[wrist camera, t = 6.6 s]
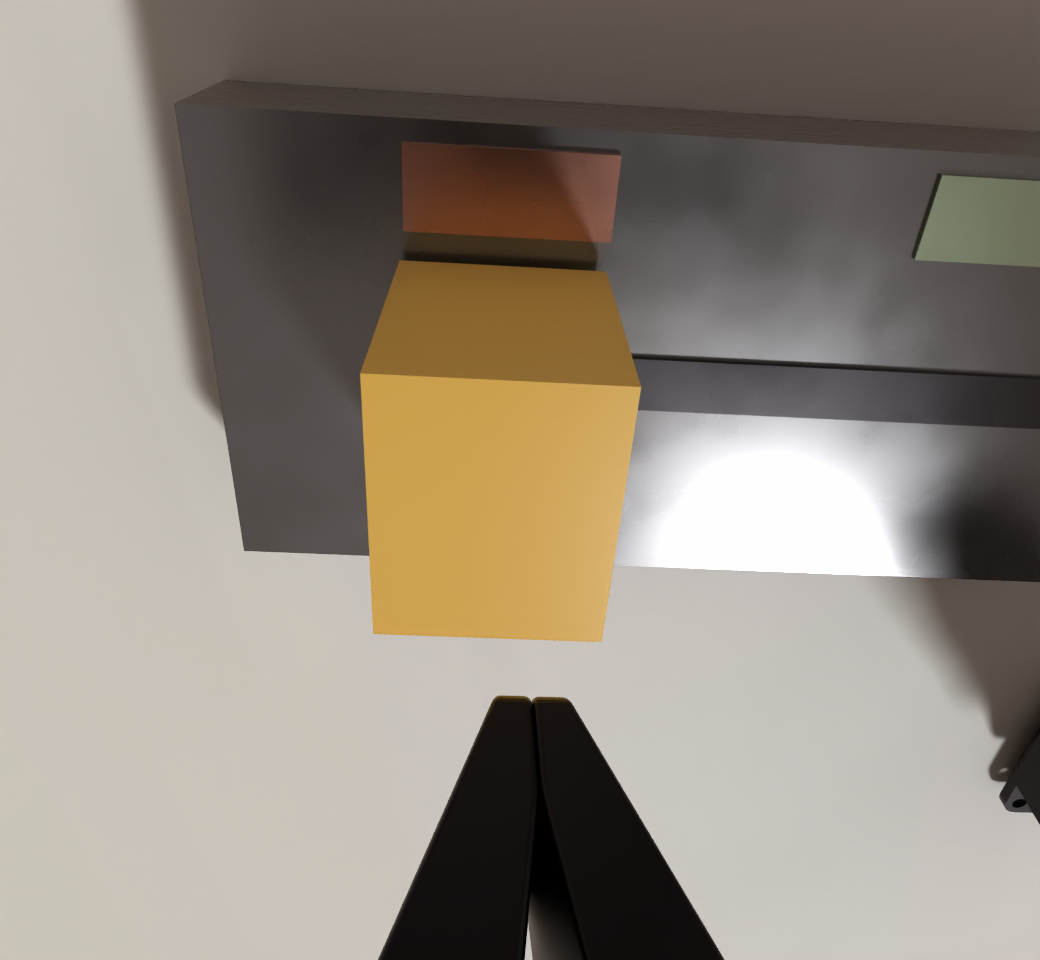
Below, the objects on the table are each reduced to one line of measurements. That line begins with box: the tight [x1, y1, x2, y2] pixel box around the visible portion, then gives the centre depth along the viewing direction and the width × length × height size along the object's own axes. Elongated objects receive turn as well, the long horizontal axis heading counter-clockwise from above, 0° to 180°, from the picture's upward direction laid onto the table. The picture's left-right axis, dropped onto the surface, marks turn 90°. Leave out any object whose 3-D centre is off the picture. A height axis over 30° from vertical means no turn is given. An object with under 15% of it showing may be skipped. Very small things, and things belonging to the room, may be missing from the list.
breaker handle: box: [360, 260, 641, 642], centre depth 15 cm, size 4×5×5 cm
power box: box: [175, 81, 1040, 582], centre depth 19 cm, size 22×10×3 cm, turn 87°
